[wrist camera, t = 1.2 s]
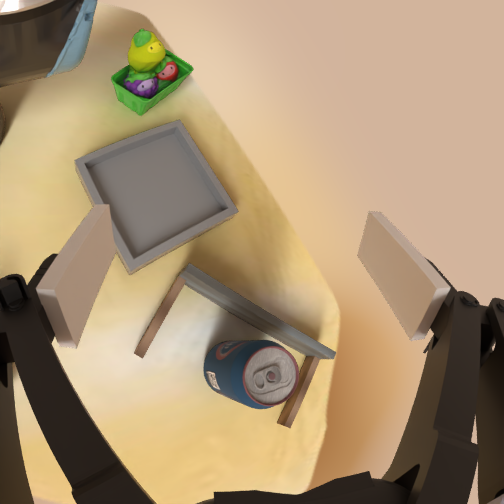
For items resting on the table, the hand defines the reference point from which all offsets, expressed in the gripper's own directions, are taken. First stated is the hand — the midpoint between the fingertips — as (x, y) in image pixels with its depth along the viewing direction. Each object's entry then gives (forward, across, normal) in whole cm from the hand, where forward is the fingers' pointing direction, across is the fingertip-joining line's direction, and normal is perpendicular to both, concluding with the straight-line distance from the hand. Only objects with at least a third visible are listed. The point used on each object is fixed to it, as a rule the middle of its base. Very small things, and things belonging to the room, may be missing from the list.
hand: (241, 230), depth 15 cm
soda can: (+11, 0, -25) cm, 27 cm away
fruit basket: (+38, -13, +5) cm, 40 cm away
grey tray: (+25, -9, -8) cm, 28 cm away
